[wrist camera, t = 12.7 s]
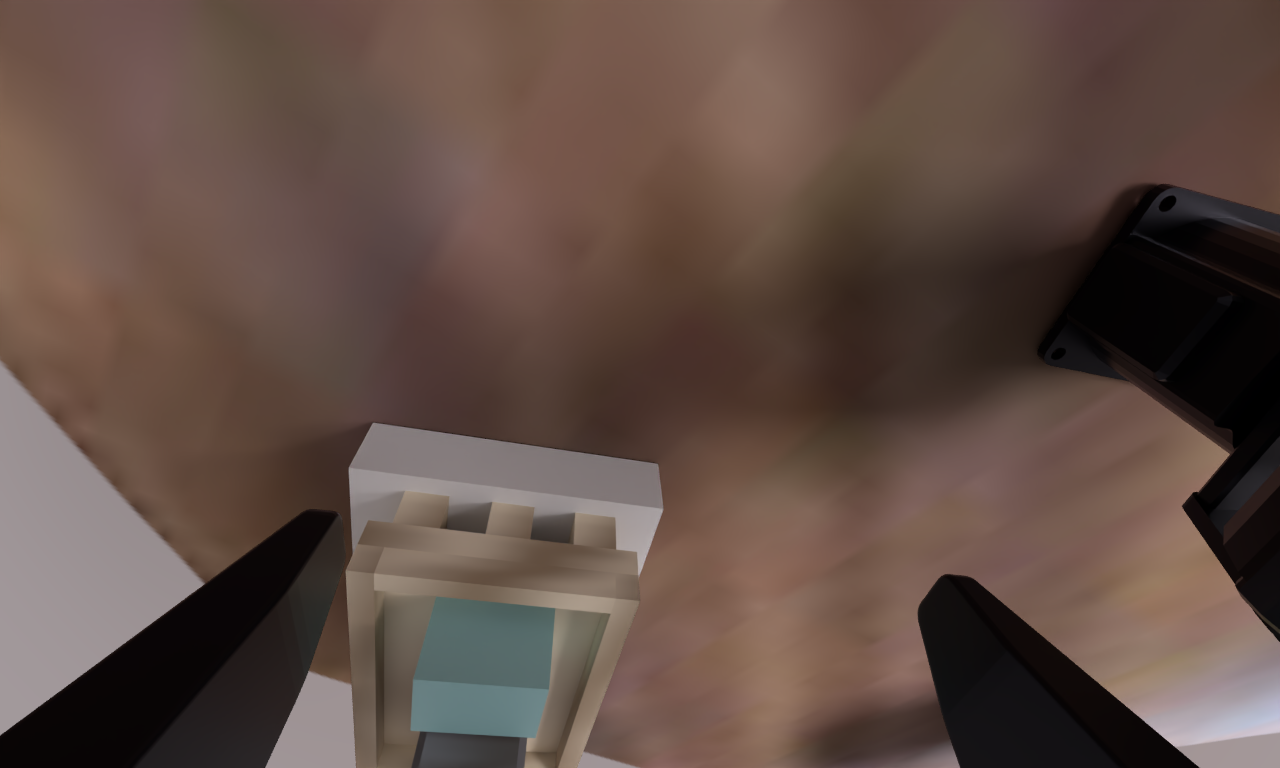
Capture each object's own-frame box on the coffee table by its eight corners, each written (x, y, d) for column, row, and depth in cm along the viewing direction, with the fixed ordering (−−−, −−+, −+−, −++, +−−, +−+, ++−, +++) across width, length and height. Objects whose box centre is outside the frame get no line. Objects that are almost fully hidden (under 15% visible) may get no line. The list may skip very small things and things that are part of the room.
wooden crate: (635, 520, 22) (655, 845, 13) (573, 707, 29) (561, 995, 20) (382, 487, 20) (227, 833, 12) (382, 694, 27) (286, 1000, 19)
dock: (657, 463, 23) (663, 508, 21) (589, 669, 31) (588, 717, 29) (372, 422, 22) (348, 467, 20) (376, 652, 29) (359, 702, 27)
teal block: (555, 604, 20) (548, 689, 18) (543, 653, 22) (535, 738, 19) (437, 592, 19) (412, 679, 17) (433, 643, 21) (410, 730, 19)
